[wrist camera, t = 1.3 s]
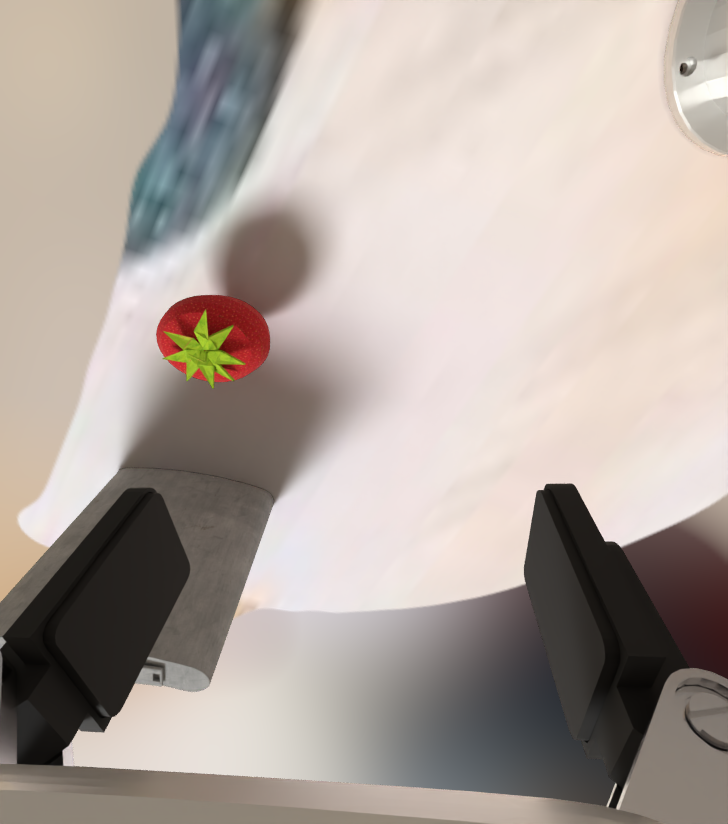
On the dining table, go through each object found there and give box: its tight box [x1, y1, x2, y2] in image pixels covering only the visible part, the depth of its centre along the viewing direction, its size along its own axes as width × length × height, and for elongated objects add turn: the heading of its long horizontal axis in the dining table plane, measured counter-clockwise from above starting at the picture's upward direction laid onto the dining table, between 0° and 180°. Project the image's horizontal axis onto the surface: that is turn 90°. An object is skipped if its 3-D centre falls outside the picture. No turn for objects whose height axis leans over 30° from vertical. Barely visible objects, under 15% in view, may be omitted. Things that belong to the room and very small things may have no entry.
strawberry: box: [156, 295, 270, 389], centre depth 29 cm, size 6×8×10 cm
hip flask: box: [0, 468, 274, 692], centre depth 34 cm, size 16×4×20 cm, turn 82°
